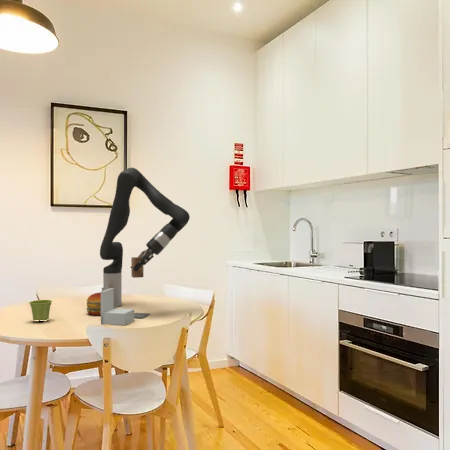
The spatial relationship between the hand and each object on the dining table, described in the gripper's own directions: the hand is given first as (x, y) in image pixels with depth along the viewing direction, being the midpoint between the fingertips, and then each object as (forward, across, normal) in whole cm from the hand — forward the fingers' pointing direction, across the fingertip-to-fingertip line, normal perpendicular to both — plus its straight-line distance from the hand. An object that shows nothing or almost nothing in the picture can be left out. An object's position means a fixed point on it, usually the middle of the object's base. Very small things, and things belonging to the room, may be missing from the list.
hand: (133, 269), depth 207 cm
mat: (+14, 0, -17) cm, 22 cm away
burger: (+25, +14, -7) cm, 29 cm away
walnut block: (+1, 0, -4) cm, 4 cm away
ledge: (+22, -9, -9) cm, 25 cm away
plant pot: (+43, +7, +12) cm, 46 cm away
